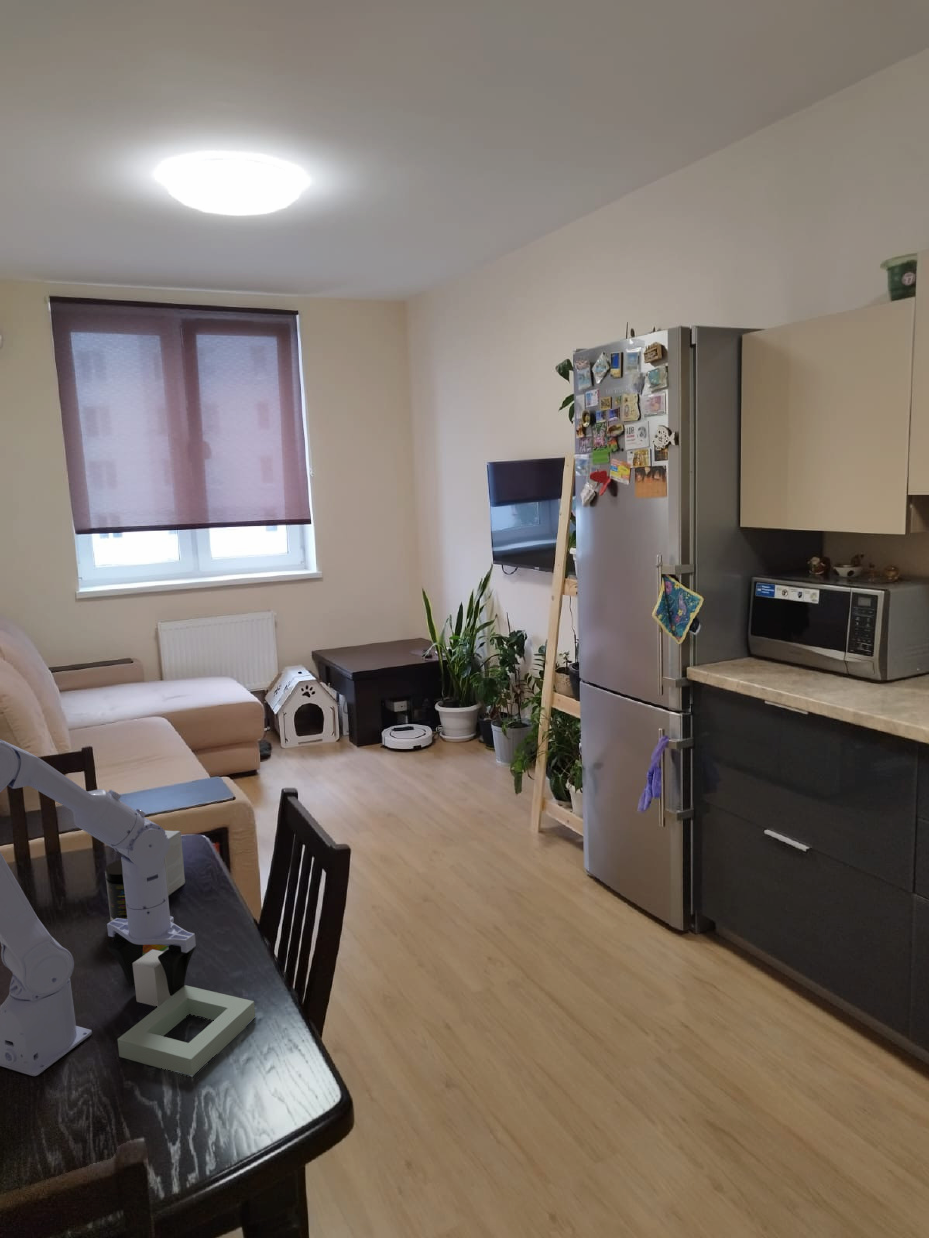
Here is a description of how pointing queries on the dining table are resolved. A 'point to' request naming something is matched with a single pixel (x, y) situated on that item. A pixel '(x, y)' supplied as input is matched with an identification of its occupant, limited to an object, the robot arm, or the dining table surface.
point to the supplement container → (116, 890)
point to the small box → (174, 862)
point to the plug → (150, 979)
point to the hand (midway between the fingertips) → (156, 987)
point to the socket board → (149, 1033)
